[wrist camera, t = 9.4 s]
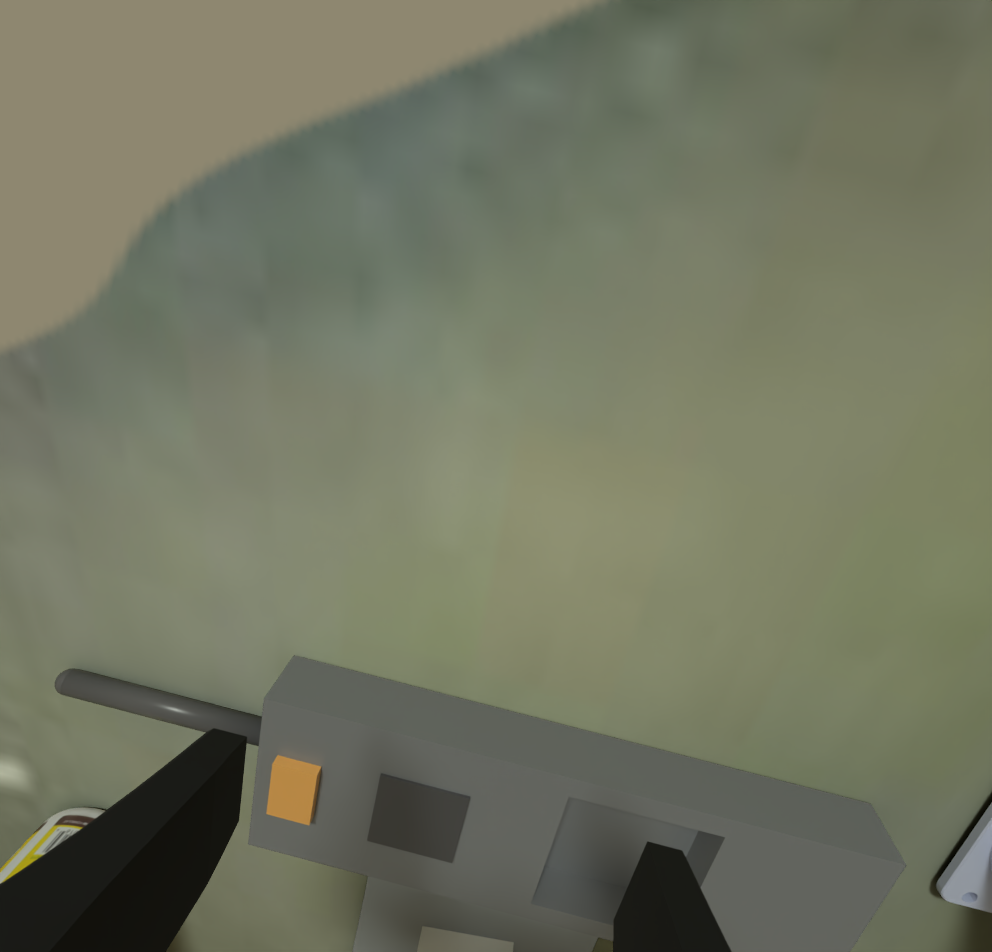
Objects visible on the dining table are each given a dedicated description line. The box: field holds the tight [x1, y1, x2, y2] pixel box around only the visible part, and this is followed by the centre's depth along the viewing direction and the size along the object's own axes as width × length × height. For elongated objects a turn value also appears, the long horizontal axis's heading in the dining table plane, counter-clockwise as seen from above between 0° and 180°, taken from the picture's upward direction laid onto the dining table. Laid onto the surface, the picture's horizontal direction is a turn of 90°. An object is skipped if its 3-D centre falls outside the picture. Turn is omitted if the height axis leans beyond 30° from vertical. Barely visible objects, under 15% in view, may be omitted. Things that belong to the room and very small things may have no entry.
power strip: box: [55, 655, 906, 952], centre depth 22 cm, size 31×7×3 cm, turn 77°
